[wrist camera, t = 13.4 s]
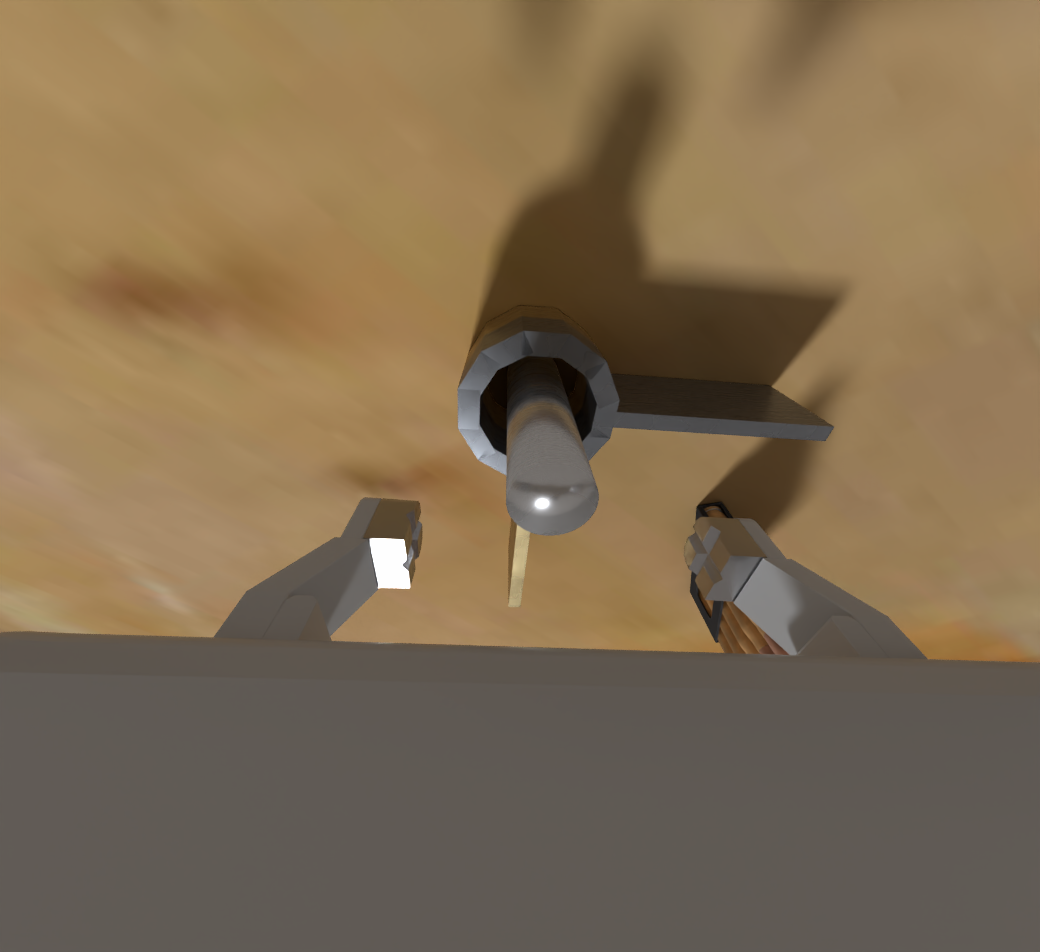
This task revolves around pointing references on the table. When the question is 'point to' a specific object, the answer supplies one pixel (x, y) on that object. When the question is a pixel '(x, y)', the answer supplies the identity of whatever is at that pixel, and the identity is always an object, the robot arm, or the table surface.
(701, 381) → the steel leaf
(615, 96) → the table surface
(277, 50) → the table surface
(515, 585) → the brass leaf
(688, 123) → the table surface
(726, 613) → the ammunition clip
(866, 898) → the robot arm
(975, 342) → the table surface
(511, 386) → the hinge pin
